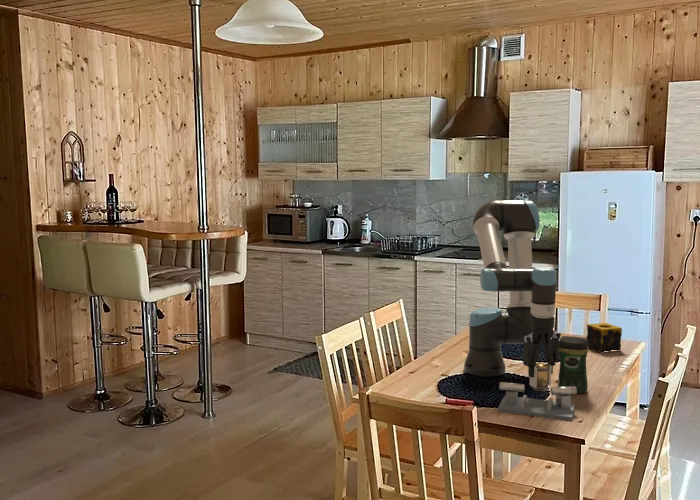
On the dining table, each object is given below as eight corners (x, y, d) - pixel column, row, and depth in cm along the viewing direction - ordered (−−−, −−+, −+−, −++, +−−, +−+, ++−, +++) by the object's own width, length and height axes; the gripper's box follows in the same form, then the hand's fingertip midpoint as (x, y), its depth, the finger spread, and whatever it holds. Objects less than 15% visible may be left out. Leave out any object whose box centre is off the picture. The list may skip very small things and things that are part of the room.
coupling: (531, 390, 223) (531, 366, 221) (533, 385, 227) (533, 361, 226) (547, 392, 221) (547, 368, 220) (548, 387, 225) (549, 363, 224)
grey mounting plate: (497, 411, 212) (497, 401, 212) (504, 398, 224) (504, 389, 224) (572, 420, 204) (572, 410, 204) (575, 406, 216) (575, 397, 216)
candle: (585, 347, 289) (585, 324, 288) (605, 345, 292) (606, 322, 291) (600, 353, 279) (601, 329, 278) (621, 351, 282) (622, 327, 281)
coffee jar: (588, 388, 234) (590, 335, 232) (585, 395, 227) (587, 340, 224) (559, 385, 238) (560, 332, 236) (555, 391, 231) (557, 337, 229)
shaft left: (498, 403, 217) (498, 383, 216) (500, 399, 220) (501, 380, 220) (522, 406, 214) (523, 386, 213) (524, 402, 218) (525, 382, 217)
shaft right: (554, 409, 211) (555, 389, 210) (548, 405, 214) (549, 385, 214) (577, 408, 212) (578, 388, 211) (571, 404, 216) (572, 384, 215)
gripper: (527, 321, 213) (524, 392, 217) (572, 315, 220) (569, 384, 224) (512, 315, 220) (510, 385, 224) (557, 310, 227) (554, 377, 231)
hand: (540, 384), depth 224 cm, fingers closed on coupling, 5 cm apart
